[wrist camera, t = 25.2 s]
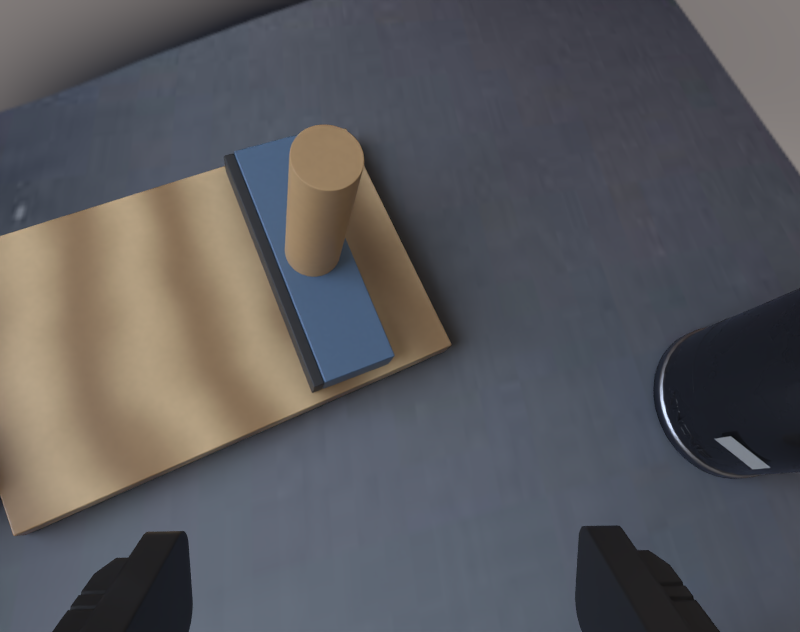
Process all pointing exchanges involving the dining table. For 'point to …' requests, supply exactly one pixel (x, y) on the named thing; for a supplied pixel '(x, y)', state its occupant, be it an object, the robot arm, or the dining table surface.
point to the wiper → (312, 248)
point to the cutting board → (163, 341)
